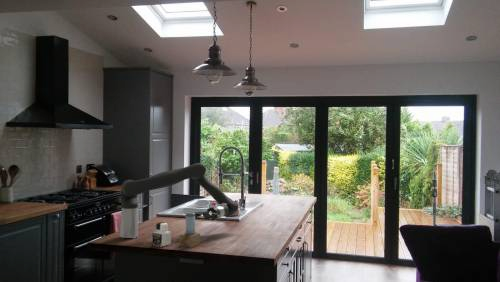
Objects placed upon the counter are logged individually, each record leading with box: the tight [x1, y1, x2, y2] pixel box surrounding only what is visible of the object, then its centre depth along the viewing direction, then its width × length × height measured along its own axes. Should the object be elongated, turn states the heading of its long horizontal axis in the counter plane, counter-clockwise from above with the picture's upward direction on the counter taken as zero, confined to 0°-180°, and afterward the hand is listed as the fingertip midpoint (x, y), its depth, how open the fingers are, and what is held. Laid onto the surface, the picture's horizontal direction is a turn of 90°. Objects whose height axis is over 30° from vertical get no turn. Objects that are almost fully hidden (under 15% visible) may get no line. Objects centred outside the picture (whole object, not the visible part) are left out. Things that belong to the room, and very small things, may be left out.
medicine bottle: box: [151, 221, 172, 248], centre depth 229 cm, size 7×7×12 cm
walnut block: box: [179, 232, 201, 248], centre depth 230 cm, size 8×8×6 cm
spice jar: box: [184, 212, 196, 235], centre depth 230 cm, size 5×5×11 cm
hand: (199, 217), depth 237 cm, fingers open, 8 cm apart
